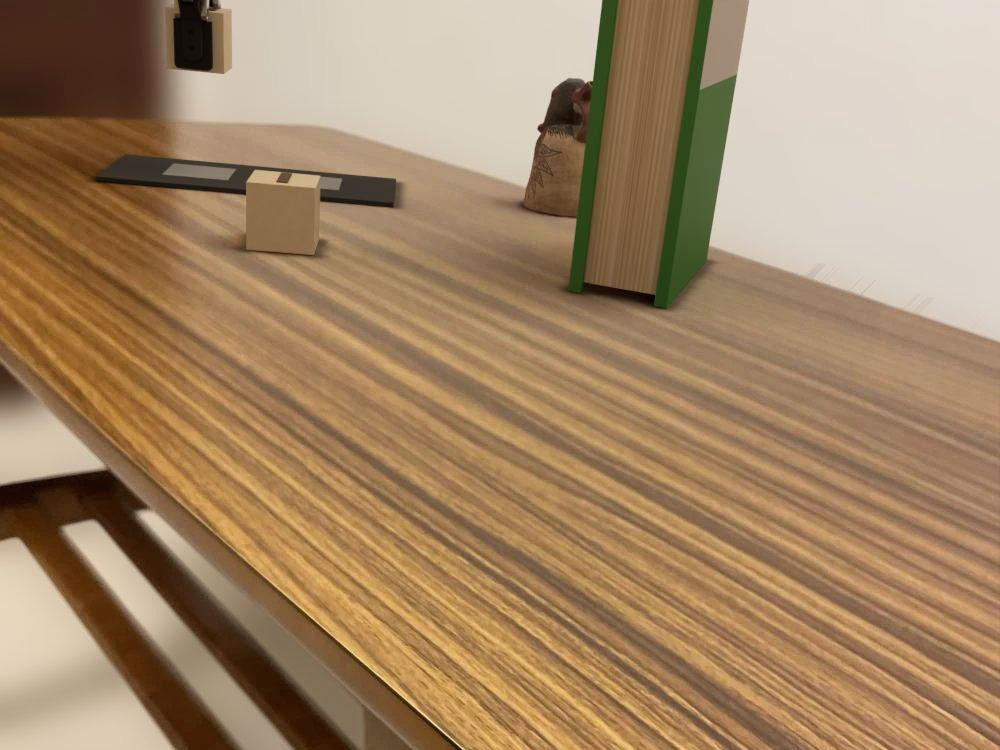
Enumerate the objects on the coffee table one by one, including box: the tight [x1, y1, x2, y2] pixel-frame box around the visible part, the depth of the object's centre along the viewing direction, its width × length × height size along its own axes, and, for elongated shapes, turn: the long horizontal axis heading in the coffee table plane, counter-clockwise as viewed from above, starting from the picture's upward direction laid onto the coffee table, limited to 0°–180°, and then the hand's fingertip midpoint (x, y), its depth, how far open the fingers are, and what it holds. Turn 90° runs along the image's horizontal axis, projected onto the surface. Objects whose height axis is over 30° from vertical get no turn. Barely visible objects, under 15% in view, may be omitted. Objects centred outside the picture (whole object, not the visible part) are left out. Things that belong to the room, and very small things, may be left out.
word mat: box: [95, 153, 397, 208], centre depth 115 cm, size 26×12×1 cm, turn 95°
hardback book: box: [567, 0, 750, 309], centre depth 93 cm, size 18×7×24 cm, turn 163°
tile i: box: [245, 170, 321, 256], centre depth 93 cm, size 5×5×5 cm
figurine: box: [523, 77, 593, 218], centre depth 116 cm, size 7×7×12 cm
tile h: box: [163, 3, 233, 75], centre depth 109 cm, size 5×5×5 cm
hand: (199, 63), depth 110 cm, fingers closed on tile h, 5 cm apart
